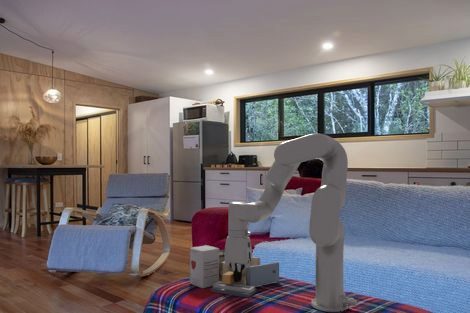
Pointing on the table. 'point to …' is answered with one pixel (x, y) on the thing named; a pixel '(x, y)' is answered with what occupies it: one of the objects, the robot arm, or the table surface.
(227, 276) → the fader knob
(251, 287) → the fader board
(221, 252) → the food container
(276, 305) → the table surface
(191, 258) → the supplement box
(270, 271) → the door
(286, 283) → the table surface
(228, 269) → the tan open box
